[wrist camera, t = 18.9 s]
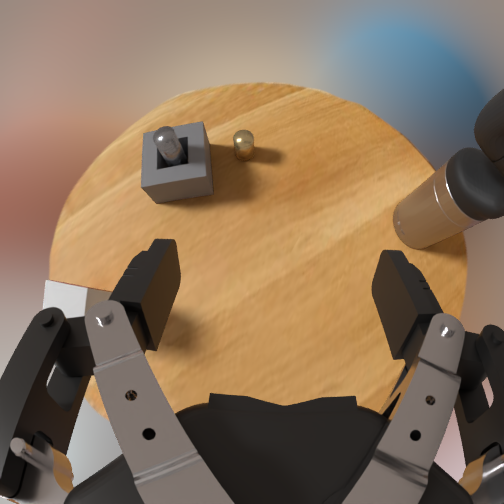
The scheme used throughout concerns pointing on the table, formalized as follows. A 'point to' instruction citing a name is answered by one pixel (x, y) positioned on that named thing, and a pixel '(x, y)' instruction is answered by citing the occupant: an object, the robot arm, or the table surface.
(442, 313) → the robot arm
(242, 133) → the brass pin
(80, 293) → the small box
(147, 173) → the collar block
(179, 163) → the grey metal rod
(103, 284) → the table surface
